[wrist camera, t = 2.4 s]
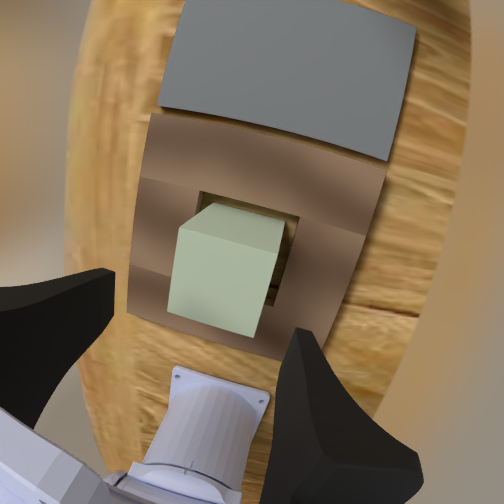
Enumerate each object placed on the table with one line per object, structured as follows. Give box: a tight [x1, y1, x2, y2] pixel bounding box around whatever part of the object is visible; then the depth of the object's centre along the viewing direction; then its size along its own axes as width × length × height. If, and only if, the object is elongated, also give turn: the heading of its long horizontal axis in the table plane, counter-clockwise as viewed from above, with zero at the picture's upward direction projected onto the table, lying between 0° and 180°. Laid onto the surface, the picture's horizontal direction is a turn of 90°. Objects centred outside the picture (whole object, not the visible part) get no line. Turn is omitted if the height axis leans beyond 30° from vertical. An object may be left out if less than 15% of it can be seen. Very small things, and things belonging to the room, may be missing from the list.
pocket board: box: [127, 113, 387, 361], centre depth 20 cm, size 14×14×1 cm
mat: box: [157, 0, 417, 161], centre depth 16 cm, size 9×14×1 cm, turn 77°
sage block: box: [167, 203, 285, 338], centre depth 18 cm, size 4×4×6 cm
